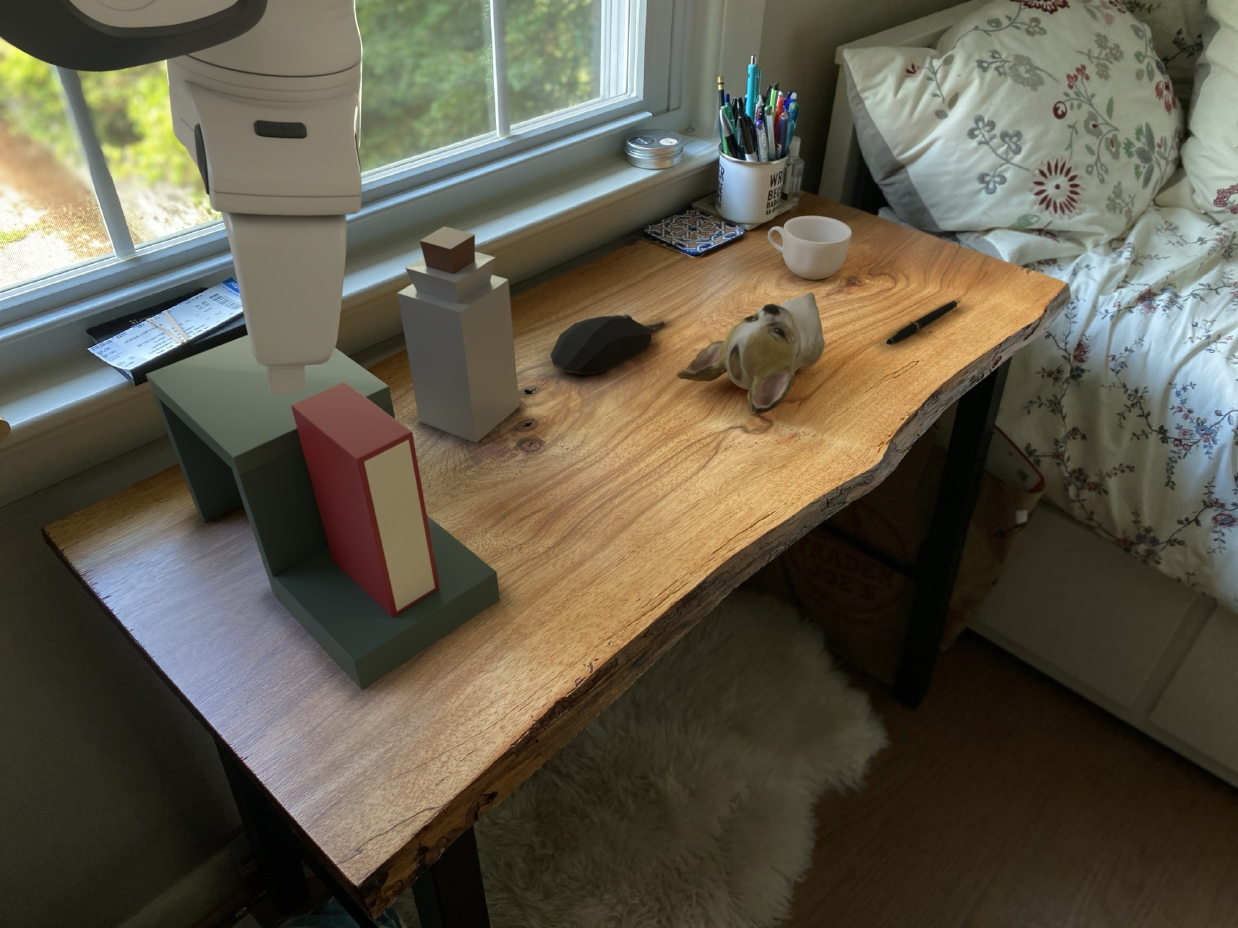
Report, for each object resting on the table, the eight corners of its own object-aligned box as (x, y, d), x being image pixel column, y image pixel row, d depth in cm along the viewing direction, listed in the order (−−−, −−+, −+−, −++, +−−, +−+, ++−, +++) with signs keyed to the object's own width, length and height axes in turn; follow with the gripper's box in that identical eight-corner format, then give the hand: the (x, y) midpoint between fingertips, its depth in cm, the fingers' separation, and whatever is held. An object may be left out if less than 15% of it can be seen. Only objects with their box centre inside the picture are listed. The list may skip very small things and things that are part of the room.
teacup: (854, 267, 113) (861, 225, 109) (829, 292, 108) (836, 249, 104) (779, 247, 117) (783, 206, 113) (751, 271, 112) (755, 229, 108)
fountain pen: (956, 302, 106) (959, 290, 105) (965, 306, 105) (968, 294, 104) (880, 346, 98) (882, 334, 97) (889, 351, 98) (892, 338, 97)
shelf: (361, 690, 63) (320, 540, 55) (198, 515, 77) (145, 374, 69) (500, 599, 70) (483, 452, 61) (326, 454, 84) (292, 317, 75)
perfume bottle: (476, 443, 85) (454, 262, 74) (419, 421, 88) (389, 244, 77) (519, 406, 90) (504, 231, 79) (463, 386, 92) (441, 214, 81)
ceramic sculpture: (860, 295, 88) (762, 364, 81) (850, 370, 94) (757, 441, 86) (770, 261, 94) (671, 321, 87) (766, 333, 100) (672, 396, 92)
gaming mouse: (683, 335, 100) (685, 302, 98) (578, 387, 92) (577, 352, 90) (643, 314, 104) (644, 281, 101) (538, 361, 96) (536, 328, 94)
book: (393, 618, 65) (357, 459, 56) (332, 560, 69) (290, 404, 60) (440, 589, 67) (413, 432, 58) (378, 534, 71) (344, 381, 62)
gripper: (188, 25, 52) (207, 249, 60) (211, 195, 38) (231, 453, 47) (307, 36, 54) (309, 249, 63) (369, 199, 40) (360, 443, 49)
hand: (276, 338), depth 55 cm, fingers open, 8 cm apart
